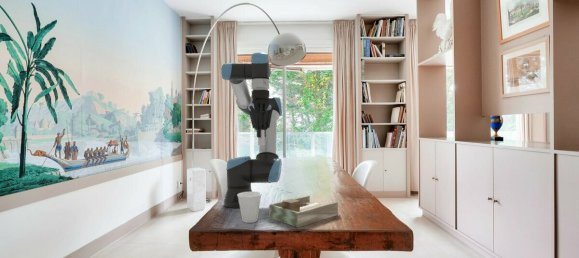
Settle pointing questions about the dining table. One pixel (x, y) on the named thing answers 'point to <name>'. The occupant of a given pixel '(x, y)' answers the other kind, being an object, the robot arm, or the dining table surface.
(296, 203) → the block
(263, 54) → the robot arm
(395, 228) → the dining table surface
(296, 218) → the box
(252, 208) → the cup
